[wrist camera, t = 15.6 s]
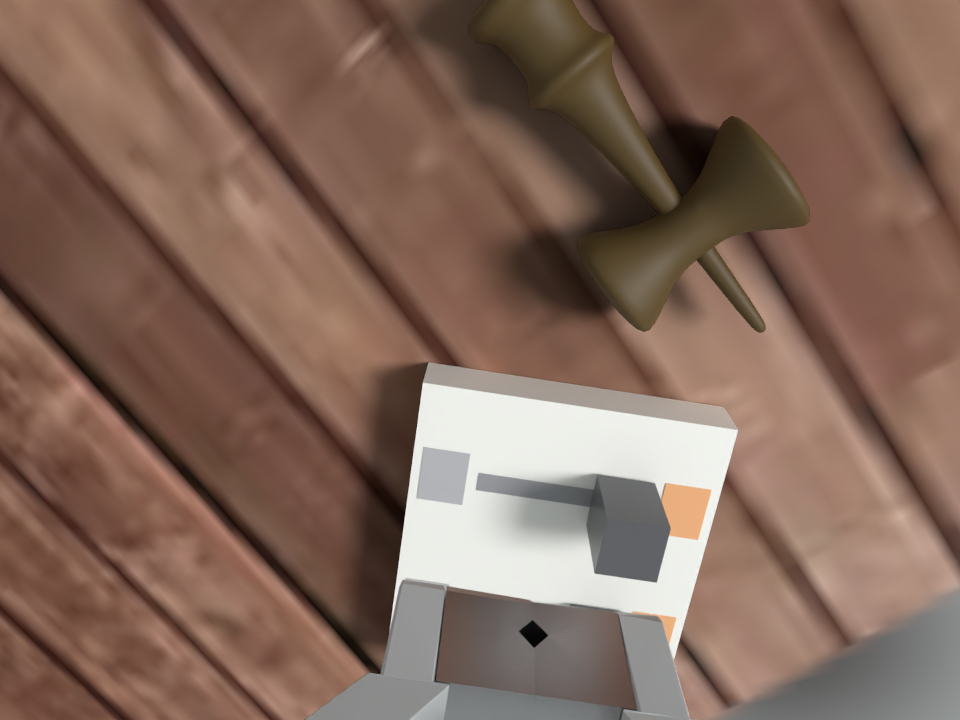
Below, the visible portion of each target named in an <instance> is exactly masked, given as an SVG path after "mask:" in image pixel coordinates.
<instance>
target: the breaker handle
mask: <svg viewBox="0 0 960 720" xmlns="http://www.w3.org/2000/svg"><path fill="white" fill-rule="evenodd" d="M586 526H587V532H588V538H589V544H590V550H591V556H592V562H593V568H594V574H600V575H607V576H614V577H621V578H628V579H635V580H641V581H648V582H655V583H657V580H658V576H659V572H660V568H661V564H662V561H663V557H664V553H665V549H666V545H667V541H668V538H669V534H670V530H671V527H670V524H669V522H668V519H667V516H666V513H665V510H664V507H663V504H662V502H661V499H660V496H659V493H658V490H657V487H656V485H655V483H651V482H644V481H637V480H631V479H624V478H617V477H611V476H604V475H597V479H596V483H595V488H594V492H593V497H592V501H591V506H590V510H589V515H588V519H587V524H586Z"/></svg>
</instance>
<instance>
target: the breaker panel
mask: <svg viewBox="0 0 960 720" xmlns="http://www.w3.org/2000/svg"><path fill="white" fill-rule="evenodd" d="M737 433H738V429H737V428H736V426H735V424H734V423H733V421H732V420H731V418H730V416H729V415H728V413H727V412H726V410H725V409H724V407H721V406H714V405H707V404H701V403H694V402H687V401H681V400H674V399H668V398H661V397H654V396H648V395H641V394H635V393H628V392H621V391H615V390H608V389H601V388H595V387H588V386H582V385H575V384H568V383H562V382H555V381H548V380H542V379H535V378H529V377H522V376H515V375H509V374H502V373H495V372H489V371H482V370H476V369H469V368H462V367H456V366H449V365H443V364H436V363H429V362H428V366H427V370H426V373H425V377H424V380H423V386H422V393H421V401H420V408H419V415H418V423H417V430H416V438H415V445H414V453H413V460H412V468H411V475H410V483H409V490H408V498H407V505H406V513H405V520H404V528H403V535H402V542H401V550H400V557H399V565H398V572H397V580H396V587H395V595H394V602H393V610H392V617H391V623H392V619H393V614H394V609H395V605H396V600H397V595H398V591H399V586H400V584H401V582H402V581H403V580H410V581H417V582H424V583H431V584H437V585H444V587H445V593H446V587H447V586H450V587H456V588H462V589H468V590H474V591H480V592H486V593H492V594H498V595H504V596H510V597H515V598H521V599H527V600H531V601H534V602H541V603H549V604H556V605H564V606H570V604H572V605H579V606H586V607H593V608H600V609H607V610H614V611H620V612H627V613H636V614H645V615H654V616H658V617H659V618H660V619H661V620H662V621H663V625H664V628H665V632H666V635H667V639H668V642H669V646H670V649H671V653H672V656H673V660H674V657H675V654H676V650H677V646H678V643H679V639H680V636H681V632H682V629H683V625H684V621H685V618H686V614H687V611H688V607H689V604H690V600H691V596H692V593H693V589H694V586H695V582H696V579H697V575H698V572H699V568H700V564H701V561H702V557H703V554H704V550H705V547H706V543H707V539H708V536H709V532H710V529H711V525H712V522H713V518H714V515H715V511H716V507H717V504H718V500H719V497H720V493H721V490H722V486H723V482H724V479H725V475H726V472H727V468H728V465H729V461H730V457H731V454H732V450H733V447H734V443H735V440H736V436H737ZM597 475H604V476H611V477H617V478H624V479H631V480H637V481H644V482H651V483H655V485H656V487H657V490H658V493H659V496H660V499H661V502H662V504H663V507H664V510H665V513H666V516H667V519H668V522H669V524H670V527H671V530H670V534H669V538H668V541H667V545H666V549H665V553H664V557H663V561H662V564H661V568H660V572H659V576H658V580H657V583H655V582H648V581H641V580H635V579H628V578H621V577H614V576H607V575H600V574H594V568H593V562H592V556H591V550H590V544H589V538H588V532H587V526H586V524H587V519H588V515H589V510H590V506H591V501H592V497H593V492H594V488H595V483H596V479H597ZM390 628H391V625H390ZM389 633H390V632H389Z"/></svg>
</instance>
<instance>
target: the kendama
mask: <svg viewBox="0 0 960 720" xmlns="http://www.w3.org/2000/svg"><path fill="white" fill-rule="evenodd" d="M468 36H469V37H470V39H471V40H473V41H475V42H477V43H488V44H493V45H495V46H497V47H499V48H500V49H501V50H502V51H504V52H505V53H506V54H507V55H508V56H509V57H510V59H511V60H512V61H513V62H514V63H515V65H516V66H517V67H518V69H519V70H520V72H521V73H522V75H523V77H524V78H525V80H526V83H527V86H528V91H529V94H528V102H529V106H530V107H531V108H533V109H547V110H550V111H553V112H555V113H557V114H558V115H560V116H561V117H563V118H564V119H565V120H567V121H568V122H569V123H570V124H571V125H573V126H574V127H575V128H576V129H577V130H578V131H579V132H580V133H581V134H583V135H584V136H585V137H586V138H587V139H588V140H589V141H590V142H591V143H592V144H593V145H594V146H595V147H596V148H597V149H598V150H599V151H600V152H601V153H602V154H603V155H604V156H605V157H606V158H607V159H608V160H609V161H610V162H611V163H612V164H613V165H614V166H615V167H616V168H617V169H618V170H619V171H620V173H621V174H622V175H623V176H624V177H625V178H626V179H627V180H628V181H629V182H630V183H631V184H632V185H633V186H634V187H635V189H636V190H637V191H638V192H639V193H640V194H641V195H642V196H643V197H644V198H645V200H646V201H647V202H648V203H649V204H650V205H651V206H652V208H653V209H654V210H655V211H656V212H657V213H658V214H657V215H656V216H654V217H652V218H650V219H649V220H647V221H644V222H642V223H639V224H637V225H633V226H629V227H625V228H619V229H613V230H607V231H600V232H595V233H590V234H587V235H585V236H582V237H581V238H580V239H579V241H578V242H577V250H578V252H579V254H580V257H581V259H582V261H583V263H584V265H585V267H586V268H587V270H588V272H589V273H590V275H591V276H592V278H593V279H594V281H595V282H596V284H597V285H598V286H599V288H600V289H601V291H602V292H603V293H604V295H605V296H606V297H607V299H608V300H609V301H610V302H611V304H612V305H613V306H614V307H615V308H616V309H617V311H618V312H619V313H620V314H621V315H622V316H623V317H624V318H625V319H626V320H627V321H628V322H629V323H630V324H631V325H633V326H634V327H635V328H637V329H638V330H641V331H644V332H645V331H648V330H650V329H651V327H652V326H653V325H654V324H655V322H656V320H657V318H658V316H659V314H660V312H661V310H662V308H663V306H664V304H665V302H666V300H667V298H668V296H669V294H670V292H671V290H672V288H673V286H674V285H675V283H676V281H677V280H678V278H679V277H680V276H681V275H682V273H683V272H684V271H685V270H686V269H687V268H688V267H689V266H690V265H691V264H692V263H693V262H694V261H696V260H697V261H698V263H699V264H700V265H701V266H702V268H703V269H704V270H705V271H706V272H707V274H708V275H709V276H710V277H711V279H712V280H713V281H714V282H715V284H716V285H717V286H718V287H719V289H720V290H721V291H722V292H723V294H724V295H725V296H726V297H727V298H728V300H729V301H730V302H731V303H732V305H733V306H734V307H735V308H736V310H737V311H738V312H739V313H740V314H741V315H742V317H743V318H744V319H745V320H746V321H747V322H748V324H749V325H750V326H751V327H752V328H753V329H754V330H756V331H757V332H759V333H762V332H764V331H765V324H764V321H763V320H762V318H761V316H760V314H759V313H758V311H757V310H756V308H755V307H754V305H753V303H752V302H751V300H750V299H749V297H748V296H747V294H746V293H745V292H744V290H743V289H742V287H741V286H740V284H739V283H738V281H737V280H736V278H735V277H734V275H733V274H732V272H731V271H730V269H729V268H728V266H727V265H726V264H725V262H724V261H723V259H722V258H721V256H720V255H719V253H718V252H717V250H716V249H715V246H716V245H717V244H719V243H720V242H722V241H723V240H725V239H727V238H729V237H732V236H735V235H738V234H741V233H746V232H753V231H761V230H773V229H785V228H795V227H800V226H804V225H806V224H807V223H808V222H810V210H809V206H808V204H807V202H806V200H805V198H804V196H803V194H802V192H801V190H800V188H799V186H798V185H797V183H796V181H795V180H794V178H793V177H792V175H791V173H790V172H789V170H788V169H787V167H786V166H785V165H784V164H783V162H782V161H781V160H780V158H779V157H778V156H777V154H776V153H775V152H774V151H773V149H772V148H771V147H770V146H769V145H768V144H767V143H766V142H765V141H764V139H763V138H762V137H761V136H760V135H759V134H758V133H757V132H756V131H755V130H754V129H753V128H752V127H751V126H749V125H748V124H747V123H746V122H744V121H743V120H741V119H740V118H737V117H733V116H731V117H729V118H728V119H727V120H725V121H724V122H723V123H722V125H721V127H720V128H719V130H718V133H717V135H716V137H715V140H714V142H713V145H712V148H711V150H710V153H709V155H708V158H707V160H706V163H705V165H704V167H703V169H702V172H701V174H700V176H699V177H698V179H697V180H696V182H695V183H694V185H693V186H692V187H691V189H690V190H689V191H688V192H687V193H686V194H685V195H684V196H682V197H681V196H680V194H679V192H678V191H677V189H676V188H675V186H674V184H673V183H672V181H671V180H670V178H669V176H668V174H667V173H666V171H665V169H664V168H663V166H662V164H661V163H660V161H659V159H658V158H657V156H656V154H655V152H654V151H653V149H652V147H651V145H650V144H649V142H648V140H647V138H646V136H645V135H644V133H643V131H642V129H641V127H640V125H639V123H638V122H637V120H636V118H635V116H634V114H633V112H632V110H631V108H630V106H629V104H628V102H627V100H626V98H625V96H624V94H623V92H622V90H621V88H620V86H619V83H618V81H617V78H616V76H615V73H614V69H613V66H612V58H611V56H612V49H613V45H614V38H613V36H612V35H610V34H607V33H602V32H598V31H596V30H594V29H593V28H592V27H591V26H590V25H588V23H587V22H586V21H585V20H584V18H583V17H582V16H581V14H580V13H579V11H578V9H577V8H576V6H575V4H574V2H573V0H485V1H484V2H483V4H482V5H481V6H480V7H479V8H478V10H477V11H476V12H475V14H474V16H473V17H472V19H471V21H470V23H469V26H468Z"/></svg>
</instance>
